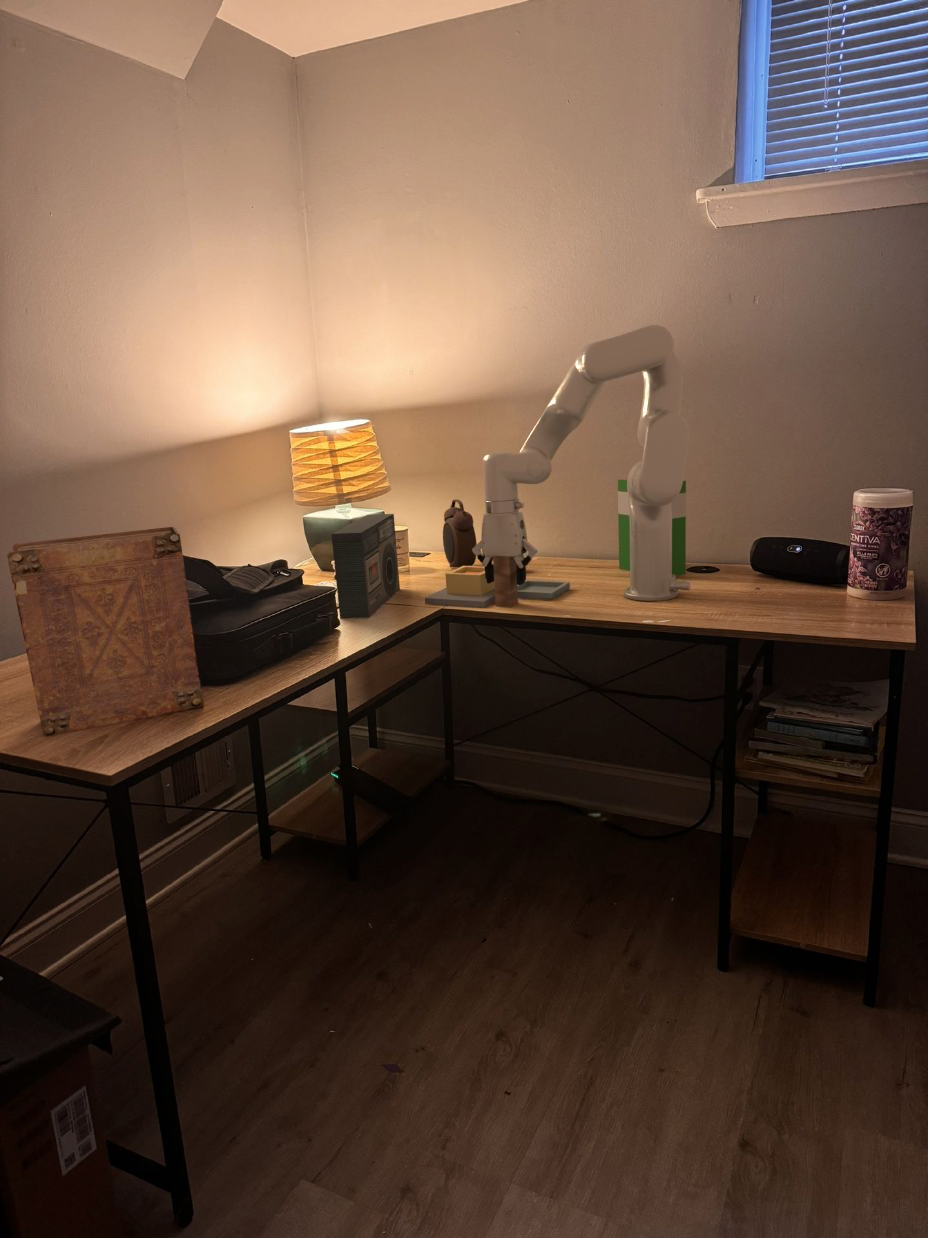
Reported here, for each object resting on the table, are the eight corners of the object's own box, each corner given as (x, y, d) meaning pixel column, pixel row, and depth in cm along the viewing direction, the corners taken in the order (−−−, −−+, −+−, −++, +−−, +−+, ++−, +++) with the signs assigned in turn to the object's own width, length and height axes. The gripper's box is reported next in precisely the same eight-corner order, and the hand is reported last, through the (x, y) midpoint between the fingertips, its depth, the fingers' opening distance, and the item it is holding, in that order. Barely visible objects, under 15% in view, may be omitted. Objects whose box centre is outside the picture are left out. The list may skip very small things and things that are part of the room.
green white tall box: (619, 568, 234) (617, 479, 228) (640, 564, 237) (639, 476, 231) (663, 578, 219) (663, 483, 213) (685, 574, 222) (685, 480, 216)
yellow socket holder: (518, 588, 218) (517, 563, 216) (484, 607, 201) (482, 580, 199) (462, 585, 225) (461, 561, 224) (424, 603, 208) (422, 577, 207)
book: (41, 737, 137) (4, 552, 130) (45, 719, 146) (10, 544, 138) (205, 707, 146) (179, 532, 139) (199, 691, 155) (175, 526, 147)
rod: (518, 603, 203) (514, 536, 199) (511, 607, 200) (507, 539, 196) (502, 602, 205) (499, 535, 201) (495, 606, 202) (491, 538, 198)
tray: (569, 589, 214) (569, 582, 213) (552, 600, 204) (551, 593, 203) (525, 586, 219) (525, 579, 219) (505, 597, 209) (505, 590, 209)
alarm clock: (441, 567, 251) (436, 498, 246) (464, 564, 253) (460, 496, 248) (455, 576, 238) (450, 503, 232) (480, 573, 240) (476, 501, 234)
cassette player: (368, 618, 199) (360, 532, 194) (340, 619, 200) (331, 533, 195) (399, 589, 226) (393, 513, 221) (374, 590, 228) (367, 514, 222)
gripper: (543, 505, 196) (546, 581, 201) (475, 504, 204) (479, 578, 209) (530, 509, 190) (534, 588, 194) (460, 509, 198) (465, 584, 202)
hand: (505, 582), depth 201 cm, fingers open, 7 cm apart
